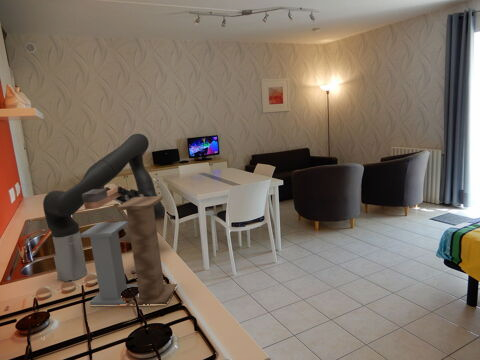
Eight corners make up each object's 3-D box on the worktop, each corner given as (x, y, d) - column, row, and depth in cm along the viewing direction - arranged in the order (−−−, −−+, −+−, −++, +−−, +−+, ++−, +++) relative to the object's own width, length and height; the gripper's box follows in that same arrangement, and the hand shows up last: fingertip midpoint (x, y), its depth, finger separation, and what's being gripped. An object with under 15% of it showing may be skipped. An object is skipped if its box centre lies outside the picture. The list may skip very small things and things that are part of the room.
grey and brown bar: (84, 209, 103) (81, 194, 102) (114, 193, 121) (112, 180, 120) (98, 208, 102) (96, 193, 101) (127, 192, 120) (125, 179, 119)
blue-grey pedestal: (90, 306, 109) (77, 234, 105) (107, 288, 120) (96, 222, 115) (126, 306, 108) (114, 233, 103) (140, 288, 118) (130, 221, 114)
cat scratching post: (129, 306, 108) (113, 207, 101) (143, 288, 118) (129, 197, 112) (166, 306, 106) (152, 205, 100) (177, 288, 117) (165, 195, 110)
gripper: (118, 193, 133) (93, 180, 117) (153, 191, 131) (133, 177, 115) (116, 212, 131) (91, 201, 115) (152, 211, 129) (131, 199, 113)
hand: (112, 189), depth 115 cm, fingers closed on grey and brown bar, 4 cm apart
